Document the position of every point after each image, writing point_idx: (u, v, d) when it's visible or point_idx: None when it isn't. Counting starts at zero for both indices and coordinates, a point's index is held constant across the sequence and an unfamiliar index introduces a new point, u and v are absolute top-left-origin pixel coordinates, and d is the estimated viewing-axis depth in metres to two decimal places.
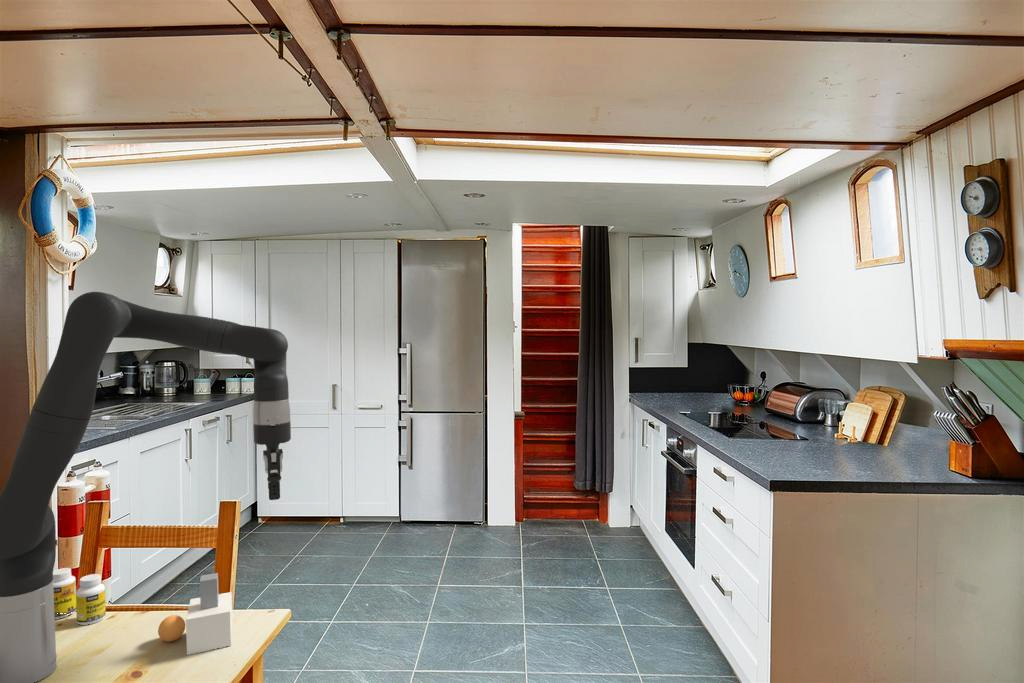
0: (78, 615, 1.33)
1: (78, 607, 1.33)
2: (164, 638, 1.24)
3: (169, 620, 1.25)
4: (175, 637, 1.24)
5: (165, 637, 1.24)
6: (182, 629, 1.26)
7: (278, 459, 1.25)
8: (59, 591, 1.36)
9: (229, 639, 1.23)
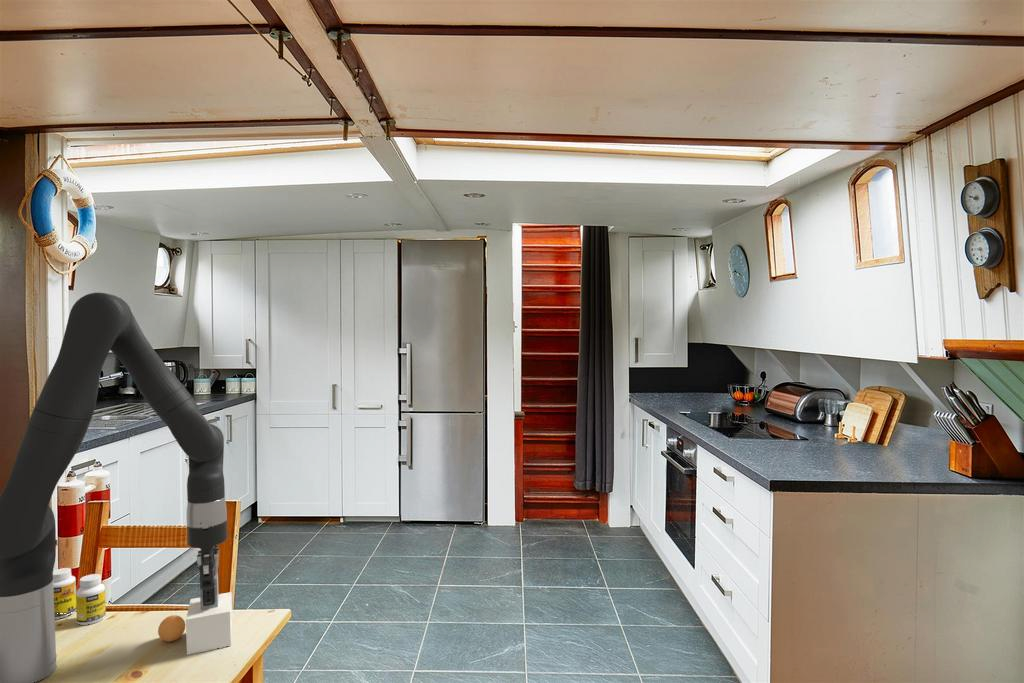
0: (78, 615, 1.33)
1: (78, 607, 1.33)
2: (164, 638, 1.24)
3: (169, 620, 1.25)
4: (175, 637, 1.24)
5: (165, 637, 1.24)
6: (182, 629, 1.26)
7: (211, 572, 1.20)
8: (59, 591, 1.36)
9: (229, 639, 1.23)
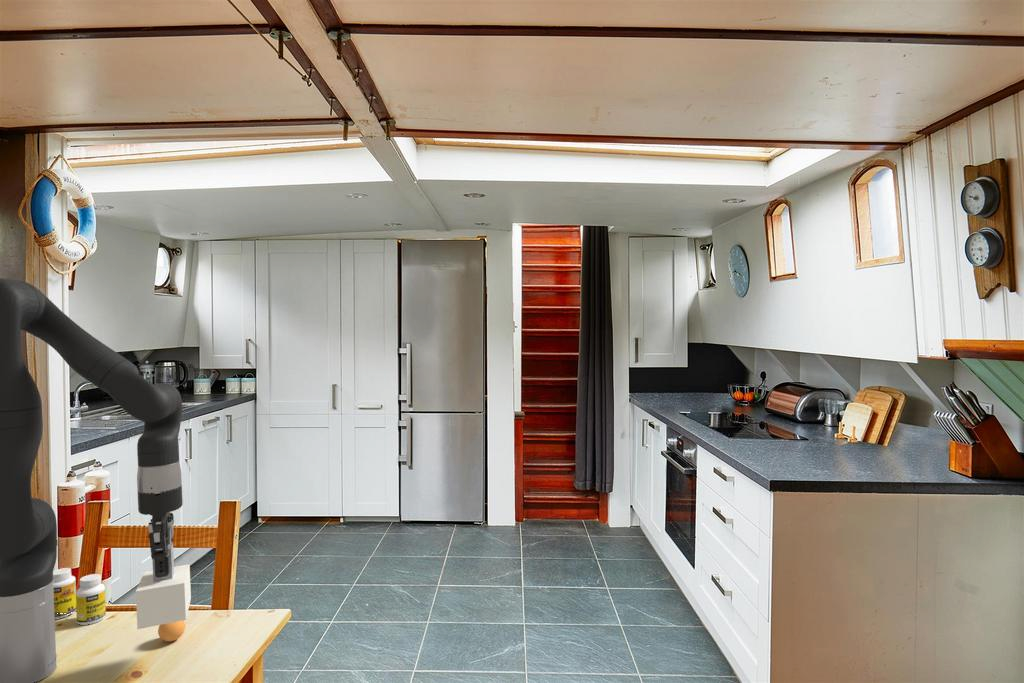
0: (78, 615, 1.33)
1: (78, 607, 1.33)
2: (164, 638, 1.24)
3: None
4: (175, 637, 1.24)
5: (165, 637, 1.24)
6: (182, 629, 1.26)
7: (162, 540, 1.12)
8: (59, 591, 1.36)
9: (184, 612, 1.15)
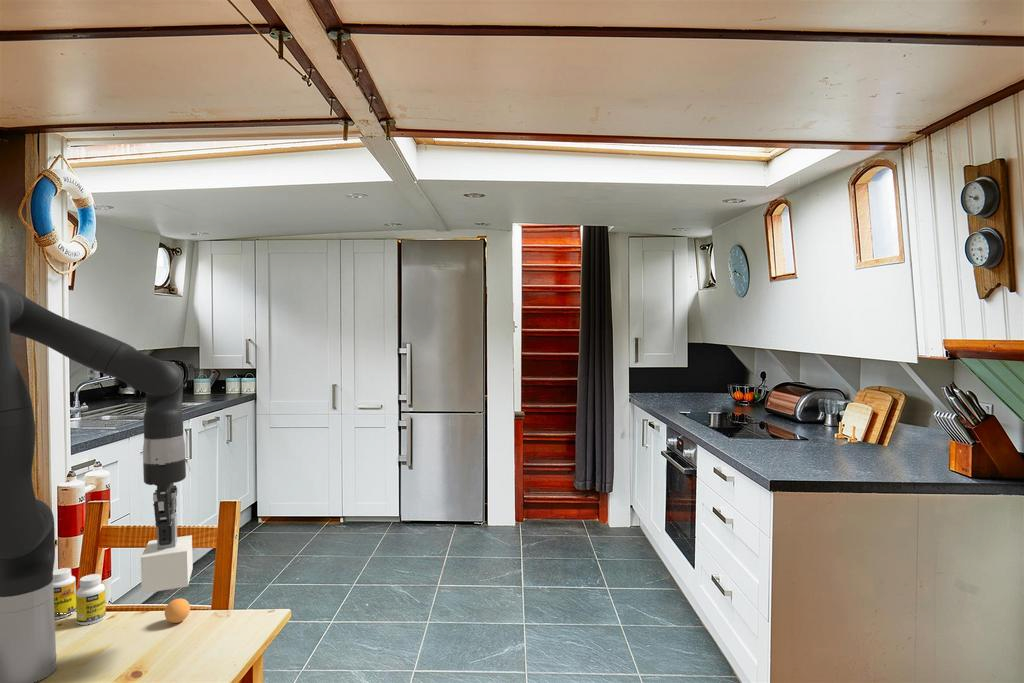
0: (78, 615, 1.33)
1: (78, 607, 1.33)
2: None
3: None
4: None
5: None
6: None
7: (166, 508, 1.18)
8: (59, 591, 1.36)
9: (186, 579, 1.20)
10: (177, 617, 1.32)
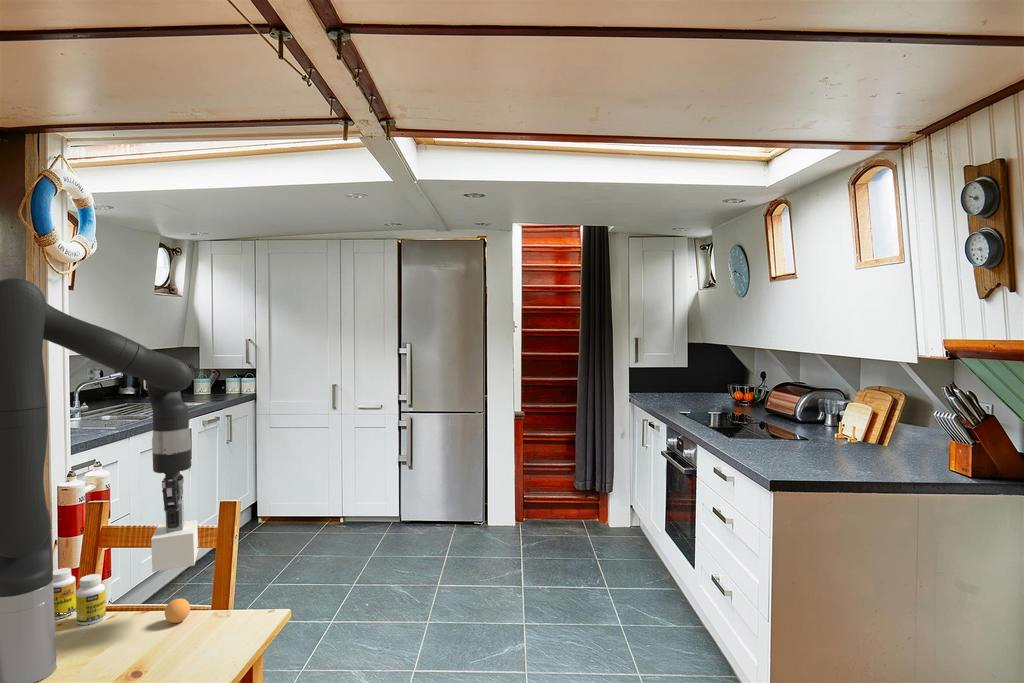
0: (78, 615, 1.33)
1: (78, 607, 1.33)
2: None
3: None
4: None
5: None
6: None
7: (174, 494, 1.29)
8: (59, 591, 1.36)
9: (192, 559, 1.32)
10: (177, 617, 1.32)
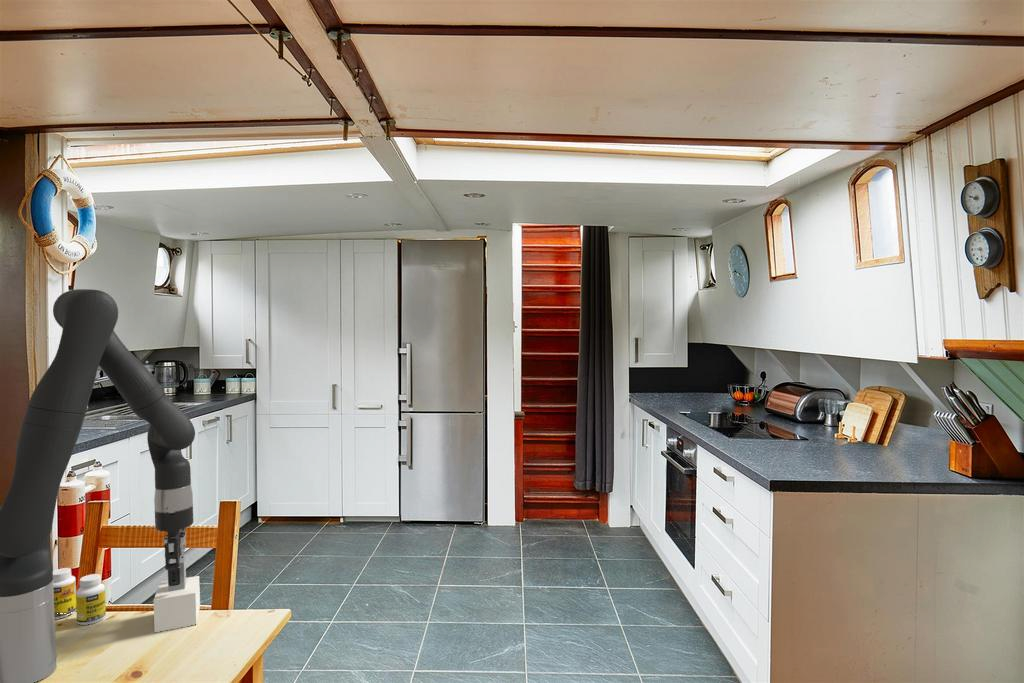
0: (78, 615, 1.33)
1: (78, 607, 1.33)
2: None
3: None
4: None
5: None
6: None
7: (176, 549, 1.29)
8: (59, 591, 1.36)
9: (195, 618, 1.32)
10: None
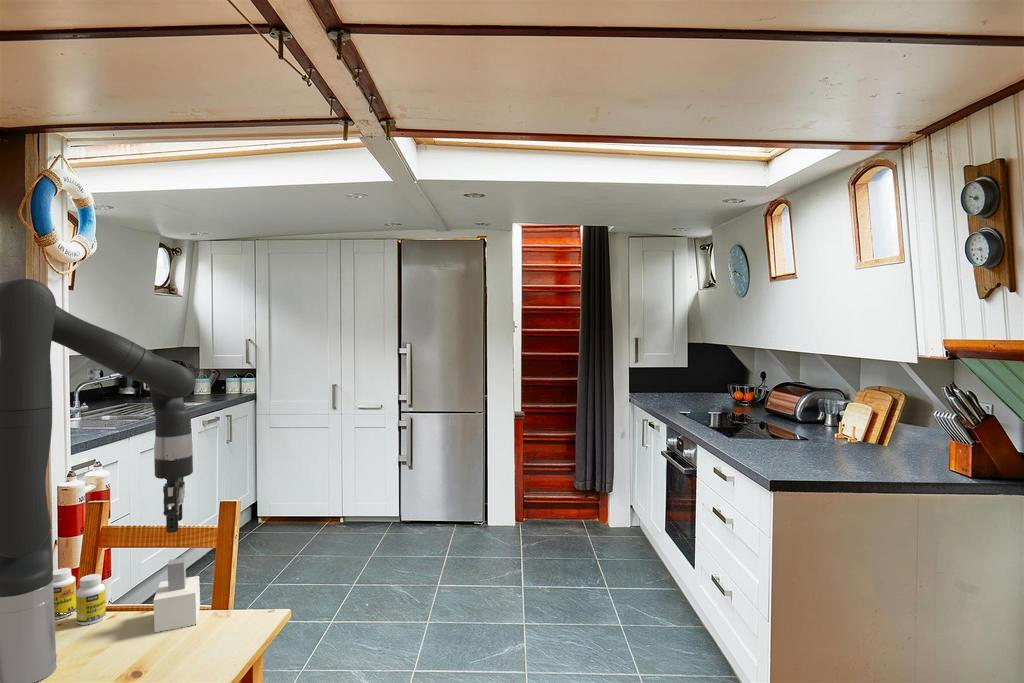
0: (78, 615, 1.33)
1: (78, 607, 1.33)
2: None
3: None
4: None
5: None
6: None
7: (175, 493, 1.29)
8: (59, 591, 1.36)
9: (195, 618, 1.32)
10: None
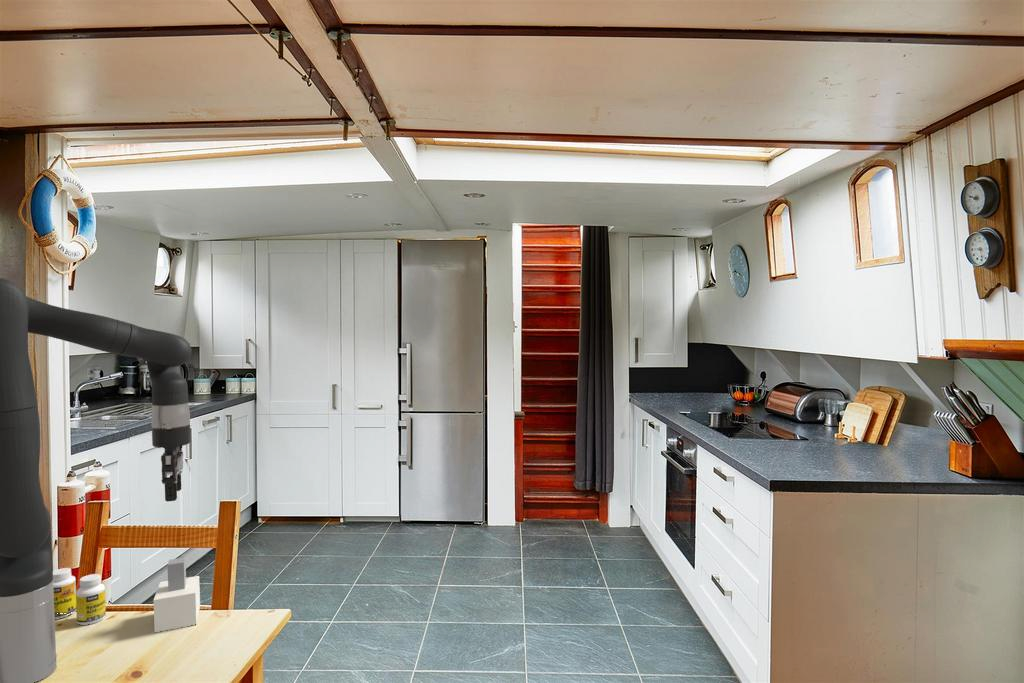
0: (78, 615, 1.33)
1: (78, 607, 1.33)
2: None
3: None
4: None
5: None
6: None
7: (173, 462, 1.28)
8: (59, 591, 1.36)
9: (195, 618, 1.32)
10: None
